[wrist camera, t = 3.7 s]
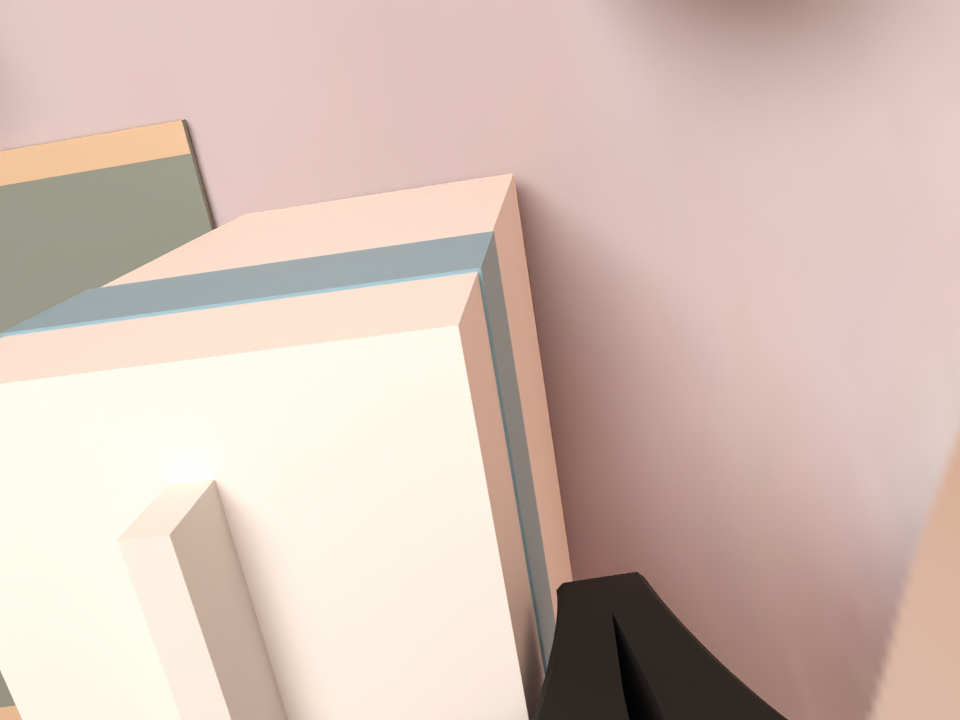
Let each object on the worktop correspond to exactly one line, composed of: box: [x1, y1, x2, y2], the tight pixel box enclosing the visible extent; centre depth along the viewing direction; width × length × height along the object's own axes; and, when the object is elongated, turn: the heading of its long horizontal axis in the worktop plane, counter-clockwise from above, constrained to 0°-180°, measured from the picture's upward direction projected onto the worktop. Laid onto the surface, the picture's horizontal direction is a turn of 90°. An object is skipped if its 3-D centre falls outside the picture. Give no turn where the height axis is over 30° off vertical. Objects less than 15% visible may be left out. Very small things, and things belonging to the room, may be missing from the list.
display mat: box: [0, 120, 215, 720], centre depth 23 cm, size 17×14×1 cm
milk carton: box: [0, 173, 573, 720], centre depth 16 cm, size 12×7×13 cm, turn 9°
